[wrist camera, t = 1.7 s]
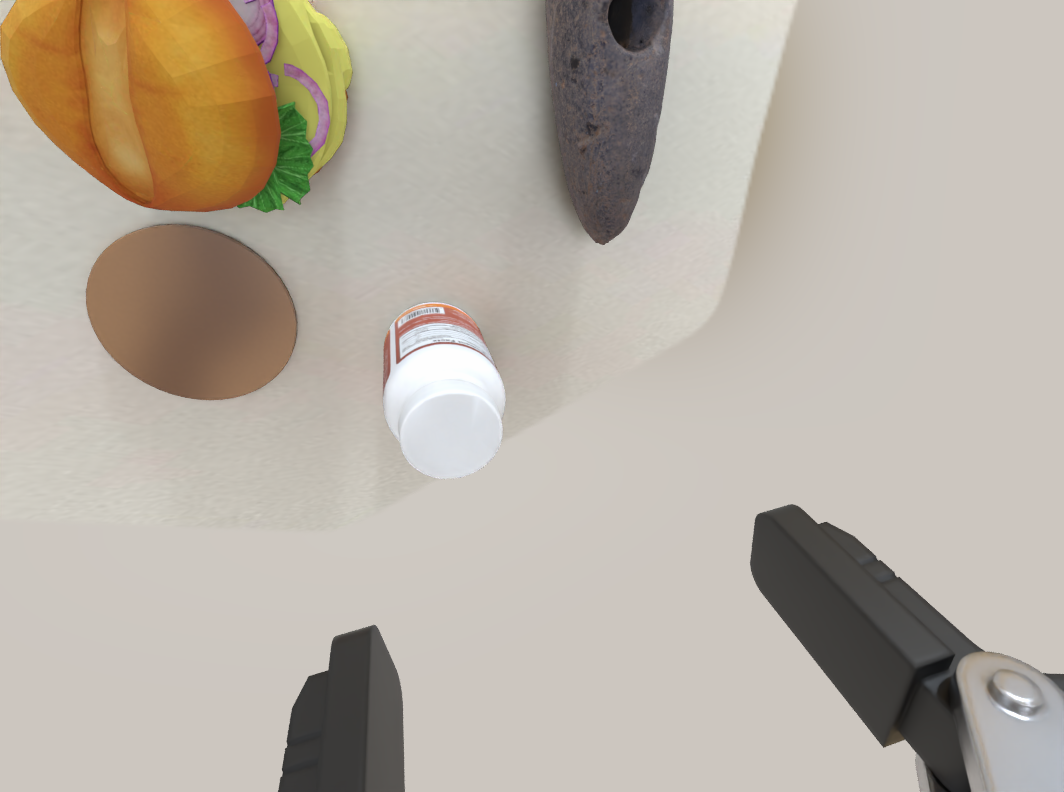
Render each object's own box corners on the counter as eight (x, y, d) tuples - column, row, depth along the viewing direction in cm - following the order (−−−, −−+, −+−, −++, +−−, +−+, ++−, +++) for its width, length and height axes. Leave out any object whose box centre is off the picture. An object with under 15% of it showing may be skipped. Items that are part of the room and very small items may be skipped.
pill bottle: (447, 405, 35) (469, 511, 25) (364, 360, 32) (353, 461, 22) (501, 332, 33) (546, 417, 24) (419, 279, 30) (432, 350, 21)
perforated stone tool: (622, 230, 32) (675, 255, 26) (541, 239, 31) (577, 267, 25) (633, -89, 25) (709, -155, 19) (527, -91, 24) (573, -161, 18)
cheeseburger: (398, 163, 27) (340, 207, 19) (220, 216, 29) (92, 279, 20) (305, -86, 22) (167, -179, 14) (92, -5, 23) (-153, -44, 15)
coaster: (97, 385, 29) (94, 388, 29) (80, 202, 25) (76, 203, 25) (290, 406, 32) (289, 409, 32) (303, 247, 28) (302, 249, 28)
